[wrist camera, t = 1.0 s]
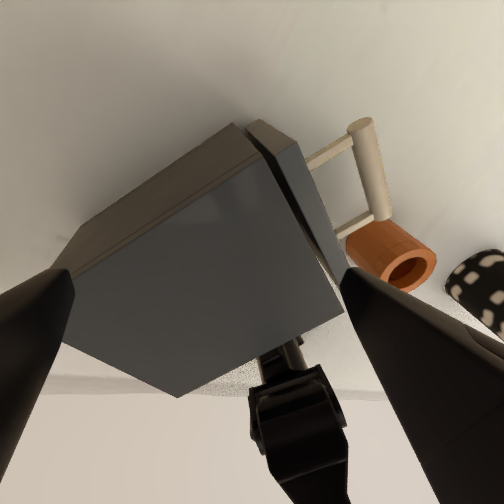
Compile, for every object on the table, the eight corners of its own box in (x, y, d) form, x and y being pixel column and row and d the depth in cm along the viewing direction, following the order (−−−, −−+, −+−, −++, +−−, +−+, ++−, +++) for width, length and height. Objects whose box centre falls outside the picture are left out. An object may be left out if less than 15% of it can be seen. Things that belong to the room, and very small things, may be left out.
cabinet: (232, 121, 18) (263, 155, 10) (298, 240, 25) (345, 312, 18) (80, 226, 20) (12, 318, 13) (181, 308, 28) (177, 398, 20)
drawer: (321, 75, 17) (399, 75, 11) (361, 205, 23) (423, 252, 17) (110, 218, 20) (72, 286, 13) (199, 299, 26) (201, 369, 20)
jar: (396, 243, 28) (438, 277, 24) (352, 266, 29) (384, 304, 24) (388, 206, 25) (434, 237, 20) (339, 234, 26) (373, 270, 21)
